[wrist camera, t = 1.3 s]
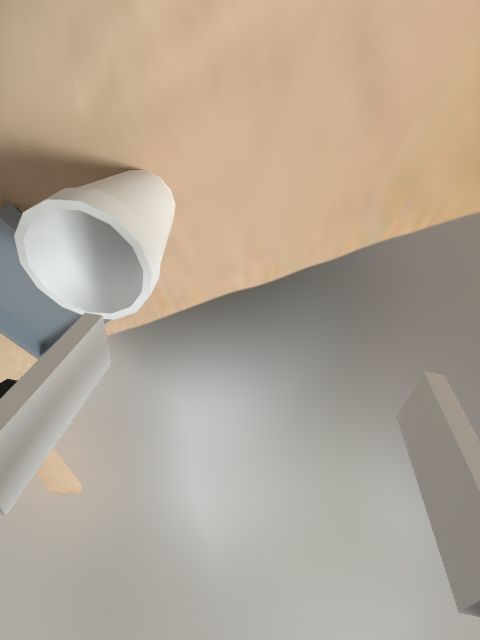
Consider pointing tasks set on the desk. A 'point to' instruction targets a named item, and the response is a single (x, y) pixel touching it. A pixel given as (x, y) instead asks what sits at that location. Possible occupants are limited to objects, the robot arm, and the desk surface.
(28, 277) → the grey tray
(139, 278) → the foam cup
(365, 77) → the desk surface
